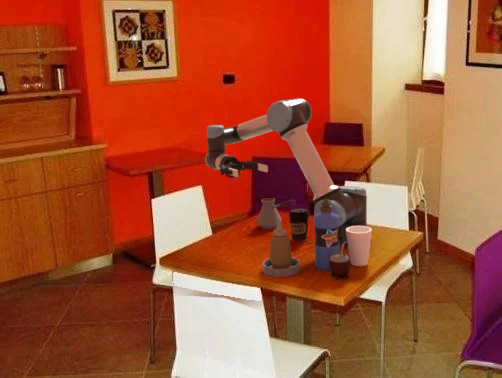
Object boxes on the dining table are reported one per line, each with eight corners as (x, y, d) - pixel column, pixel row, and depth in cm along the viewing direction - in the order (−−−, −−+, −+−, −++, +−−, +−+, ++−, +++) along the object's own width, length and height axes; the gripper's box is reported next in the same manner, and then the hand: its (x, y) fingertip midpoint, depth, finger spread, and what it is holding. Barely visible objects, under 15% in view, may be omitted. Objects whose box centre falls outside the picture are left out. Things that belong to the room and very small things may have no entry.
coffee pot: (251, 228, 275) (249, 196, 272) (268, 222, 283) (267, 191, 280) (286, 236, 260) (285, 202, 257) (303, 229, 268) (302, 197, 265)
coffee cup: (308, 243, 249) (307, 213, 246) (288, 243, 251) (287, 212, 248) (310, 236, 258) (309, 207, 255) (291, 236, 259) (290, 207, 256)
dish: (303, 264, 225) (303, 257, 224) (296, 277, 212) (296, 270, 212) (267, 263, 229) (267, 255, 228) (258, 276, 216) (258, 268, 215)
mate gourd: (333, 272, 216) (332, 232, 213) (354, 275, 212) (354, 234, 209) (326, 279, 209) (325, 238, 206) (348, 282, 206) (347, 240, 203)
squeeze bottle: (285, 273, 215) (283, 224, 211) (266, 270, 219) (263, 222, 215) (296, 266, 222) (294, 218, 217) (277, 263, 226) (274, 216, 222)
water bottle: (344, 268, 219) (343, 201, 213) (320, 272, 216) (318, 204, 211) (334, 260, 227) (332, 196, 222) (311, 264, 225) (308, 199, 219)
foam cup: (343, 266, 221) (342, 232, 218) (349, 257, 230) (348, 225, 227) (369, 268, 218) (369, 233, 215) (374, 260, 226) (374, 226, 223)
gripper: (253, 168, 265) (279, 175, 247) (201, 176, 253) (225, 185, 235) (252, 151, 263) (278, 157, 245) (200, 159, 251) (223, 166, 233)
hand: (252, 171), depth 240 cm, fingers open, 13 cm apart
